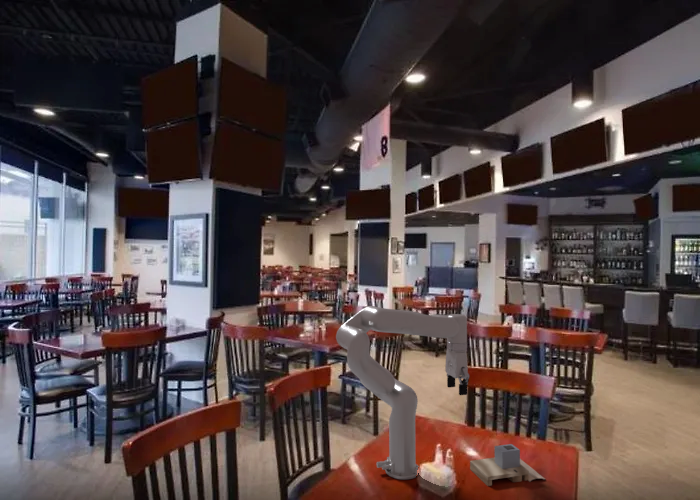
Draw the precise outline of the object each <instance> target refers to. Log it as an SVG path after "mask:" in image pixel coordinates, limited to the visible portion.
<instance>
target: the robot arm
mask: <svg viewBox="0 0 700 500" xmlns="http://www.w3.org/2000/svg"><path fill="white" fill-rule="evenodd" d="M467 324H468V320H467V316H466V315H464V314H460V313H451V314H432V315H429V314H424V313H421V312H417V311H412V310H403V309H391V308H384V307H378V306H374V305H367V306H365V307H364V308H362V309H360V310H359V311H358V312H357V313H355V314H354V315H353V316H351V318H349V319H347V320H346V321H345V322H344V323H343V324H341V326H339V327H338V329H337V331H336V334H335V339H336V343H337V344H338V346H340V347H342V348H343V349H345V350H347V352H346V353H347V354H346V361H347V366H348V368H349V370H350V372H351V373H352V374H354V376H356V377H357V378H358V380H359V381H360V383H361V384H362V385H363V387H365V388H366V389H367V390H368V391H370V392H371V393H372V394H373V395H374V396H376V397H377V398H378V399H380V400H381V401H382V402H384V403H385V404H386V405H388V406H390V407H391V412H390V414H389V415H390V416H389V421H388V432H389V433H388V438H389V440H388V447H389V448H388V449H389V451H388V454H389V455H388V456H386V459H385V460H384V461H381V460H380V461H376V464H375V465H376V468H381V469H382V470H385V473H386V474H387V475H388V476H389V477H391V478H394V479H396V480H405V481H406V480H412V479H415V478H417V477H416V475H417V470H418V467H419V468H420V466H419V465H418V464H417V463H416V462H417V461H416V414H417V408H418V396H417V395H418V394H417V393H416V391H415V390H414V389H413V388H412V387H410V385H407V384H405V383H404V382H402V381H400V380H399V379H396V378H395V377H394V376H393V373H391V372H390V370H388V369H387V368H386V367H384V366H383V365H382V364H380V363H379V362H378V361H377V360H375V358H373V356H371V354H370V345H371V344H370V343H371V342H370V337H369V335H368V334H367V333H368V332H370V331H375V332H377V333H378V332H379V333H388V334H389V333H390V334H403V335H411V336H420V337H421V336H422V337H430V338H442V339H446V354H445V368H444V369H445V370H444V371H445V373H446V377H447V378H446V380H447V381H446V384H447V385H446V386H447V388H455V387H456V379H458V395H459V396H467V395H468V384H469V381H470V380H469V379H470V373H469V372H468V370H469V369H468V367H469V366H468V357H467V351H468V342H467V341H468V327H467V326H468V325H467Z"/></svg>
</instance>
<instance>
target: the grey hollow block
mask: <svg viewBox="0 0 700 500" xmlns="http://www.w3.org/2000/svg"><path fill="white" fill-rule="evenodd" d="M494 458H495V463H496V464H497V465H498V466H499V467H501V468H502V469H507V468H514V467H520V459H521V450H520V449H519V448H518V447H516V446H515V445H514V444H512V443H509V444H501V445H494Z"/></svg>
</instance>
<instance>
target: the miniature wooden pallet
mask: <svg viewBox="0 0 700 500" xmlns="http://www.w3.org/2000/svg"><path fill="white" fill-rule="evenodd" d="M469 470H470V471H471V472H472V473H473V474H475V475H476V477H477V478H479V479H480V481H481V482H482V483H484V484H485V485H486V486H487V487H491V486H493V480H498V479H500V480H501V479H506V478H507V479H508V480H510V481H511V482H512V483H518V482H519V483H520V482H522V481H528V479H529V471H528V470H527V469H526V468H524V467H523V466H522V465H520V467H514V468H507V469H502V468H501V467H499V466H498V465H497V464H496V463H495V457H487V458H483V459H482V458H481V459H473V460H470V461H469Z"/></svg>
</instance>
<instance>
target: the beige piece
mask: <svg viewBox="0 0 700 500" xmlns="http://www.w3.org/2000/svg"><path fill="white" fill-rule="evenodd" d="M520 465H522V466H523V467H524V468H526V469H527V470H528V471H529V479H528V480H527V481H528V482H529V483H531V482H532V481H533V480H536V479H542V480H543V481H546V478H545V477H544V476H542V475H541V474H540V473H538V472H537V471H536V470H535V469H534V468H533V467H531V466H530V465H529V464H528V463H526V462H525V461H524V460H522V459H521V458H520Z"/></svg>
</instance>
